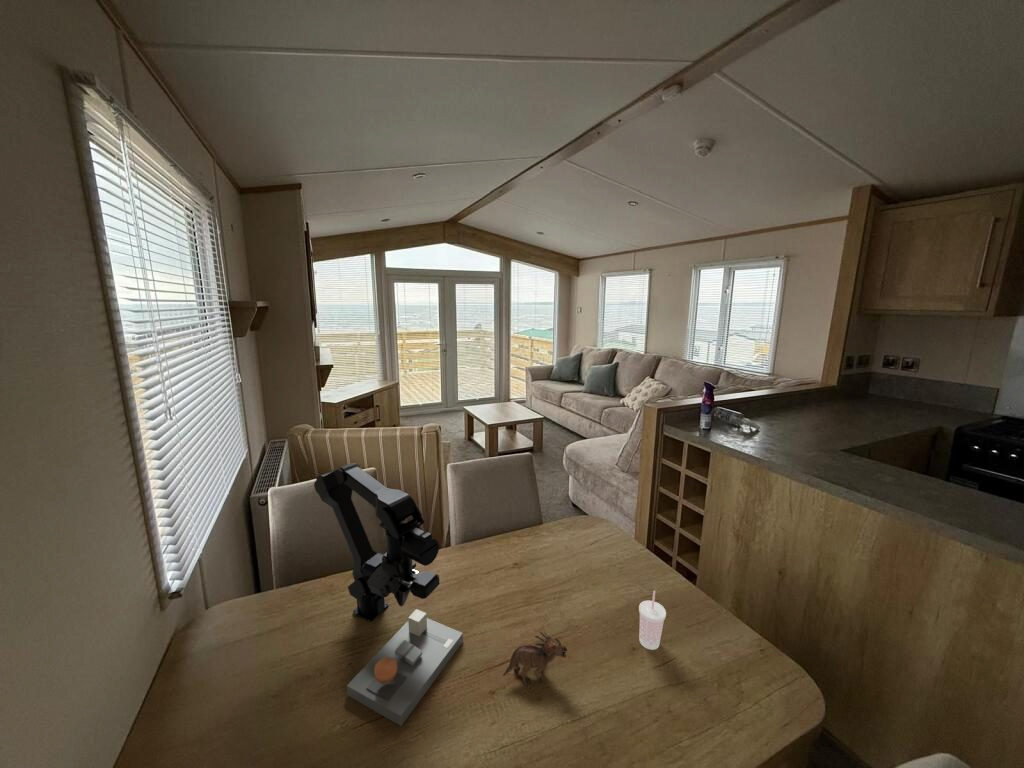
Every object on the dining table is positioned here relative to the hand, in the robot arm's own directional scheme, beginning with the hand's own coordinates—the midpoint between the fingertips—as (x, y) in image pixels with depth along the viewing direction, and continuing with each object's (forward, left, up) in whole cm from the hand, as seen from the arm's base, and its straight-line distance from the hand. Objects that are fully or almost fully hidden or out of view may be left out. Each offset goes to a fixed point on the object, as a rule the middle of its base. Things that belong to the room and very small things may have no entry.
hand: (401, 605), depth 100 cm
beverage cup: (+55, +24, -8) cm, 60 cm away
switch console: (+8, -7, -8) cm, 13 cm away
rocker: (+8, -7, -4) cm, 11 cm away
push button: (+8, -14, -4) cm, 16 cm away
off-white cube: (+5, 0, -5) cm, 7 cm away
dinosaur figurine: (+33, +4, -8) cm, 34 cm away
